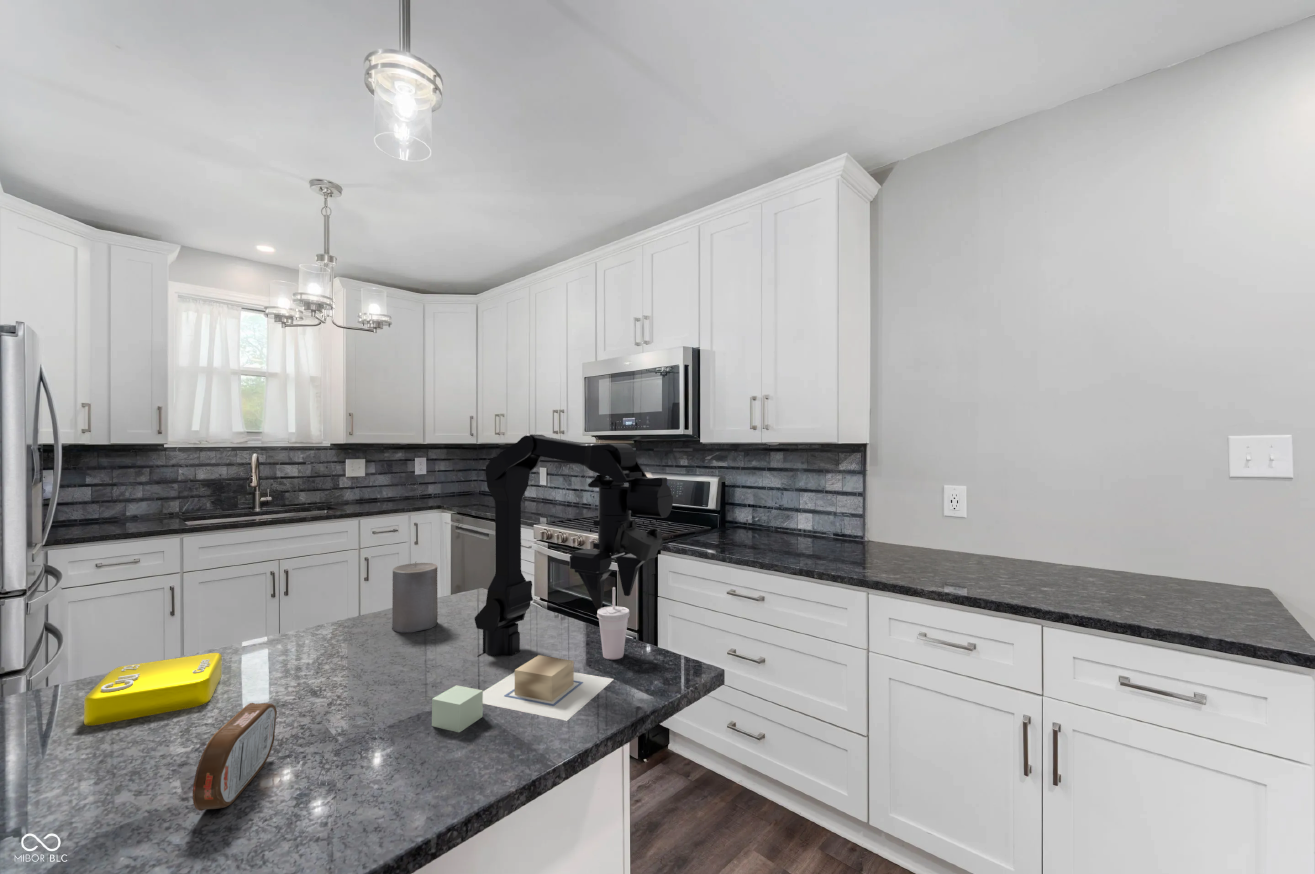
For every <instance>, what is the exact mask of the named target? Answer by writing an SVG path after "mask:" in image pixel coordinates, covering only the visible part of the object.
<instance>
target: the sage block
mask: <svg viewBox="0 0 1315 874" xmlns="http://www.w3.org/2000/svg"><path fill="white" fill-rule="evenodd" d="M483 691H484V690H482V689H478V688H472V687H468V686H462V685H458V684H456V685H454V686H452V687H451V688H449V689H447V690H445V691H444V692H443V691H442V693H440V694H438V695H436V696H435V697H433V698H432V699H431V727H434V728H439V729H442V730H447V731H452V732H456V733H461V732H462V731H464V730H466V729H467V728H469V727H470V726H471V725H473V724H474V723H476V722H477V721H479V720H480V719H481V718H483V715H484V714H483V712H484V711H483V707H484V706H483V705H484V704H483Z"/></svg>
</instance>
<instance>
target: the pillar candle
mask: <svg viewBox="0 0 1315 874" xmlns="http://www.w3.org/2000/svg"><path fill="white" fill-rule="evenodd" d="M391 592H392V604H391V605H392V607H391V608H392V609H391V611H392V615H391V616H392V617H391V618H392V620H391V621H392V623H391V625H392V631H393V632H397V633H405V634H407V633H408V634H409V633H416V632H420V631H425V630H426V631H427V630H430V629H432V628H434V627H436V626H437V624H438V620H439V619H438V614H439V611H438V604H439V603H438V565H437V563H433V562H417V561H415V562H414V563H413V562H412V563H406V564H400V565H397V566H395V567H393V568H392V591H391Z"/></svg>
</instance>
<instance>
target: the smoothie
mask: <svg viewBox="0 0 1315 874" xmlns="http://www.w3.org/2000/svg"><path fill="white" fill-rule="evenodd" d="M630 615H631V614H630V609H629V608H627V607H624V606H618V605H616V587H615V586H613V587H612V606H611V605H610V606H604V607H602V608H601V609H597V614H596V617H597V618H598V623H599V632H600V641H601V649H602V650H601V651H602V657H603V658H604V659H606V660H620V659H621V658H623V657H624V653H625V645H626V636H627V629H628V620H629V617H630Z"/></svg>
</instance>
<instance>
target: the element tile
mask: <svg viewBox="0 0 1315 874" xmlns="http://www.w3.org/2000/svg"><path fill="white" fill-rule="evenodd" d="M222 663H223V656H222V654H221V653H219V652H210V653H205V654H196V655H191V656H189V655H188V656H182V657H176V658H169V659H164V660H163V659H161V660H155V661H149V662H142V663H136V664H126V665H122V666H118V667H116V668H114V669H112V670H111V671H109V672H108V673H107V674H106V675H105V676H104V677H103V678H102V679H101V680H100V681H99V682H98V684H96V685H95V686H94V688H93V689H92V690H90V692H89V693H88V694H87V695H85V697H84V700H83V701H84V704H83V706H84V708H83V724H84V725H85V726H99V725H104V724H110V723H116V722H122V721H128V720H131V719H137V718H142V717H148V716H154V715H158V714H163V713H164V714H165V713H170V712H174V711H175V712H176V711H181V710H187V709H191V708H196V707H199V706H202V705H206V704H207V703H208V702H210V701H211V699H212V697H213V696H214V693H215V691H216V688H217V687H218V685H219V683H220V680H221V678H222V666H223V664H222Z"/></svg>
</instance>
